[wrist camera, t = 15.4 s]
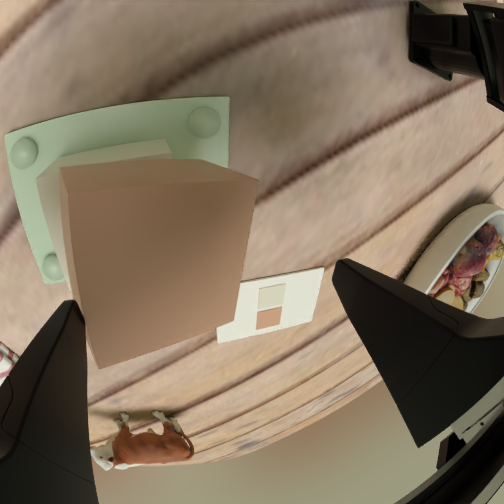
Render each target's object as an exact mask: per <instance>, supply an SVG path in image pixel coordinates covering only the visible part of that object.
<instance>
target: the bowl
mask: <svg viewBox="0 0 504 504" xmlns="http://www.w3.org/2000/svg"><path fill="white" fill-rule="evenodd" d="M503 258H504V209H502V208H501V207H499V206H497V205H494V204H479V205H475V206H473V207H470V208H468V209H467V210H465V211H463V212H462V213H460V214H459V215H458V216H457V217H455V218H454V219H453V220H452V221H451V222H450V223H449V224H447V225H446V226H445V227H444V228H443V229H442V231H441V232H440V233H439V234H438V235H437V236H436V237H435V238H434V240H433V241H432V242H431V243H430V244H429V246H428V247H427V248H426V250H425V251H424V252H423V253H422V255H421V256H420V258H419V259H418V260H417V262H416V263H415V265H414V266H413V268H412V269H411V271H410V272H409V274H408V276H407V277H406V279H405V281H404V282H403V283H404V284H406V285H408V286H410V287H412V288H415V289H417V290H419V291H421V292H423V293H425V294H427V295H430V296H432V297H434V298H436V299H438V300H440V301H442V302H444V303H447V304H449V305H451V306H454V307H456V308H459V309H461V310H463V311H466V312H468V313H471V314H472V312H473V311H474V310H475V308H476V307H477V306H478V304H479V303H480V301H481V300H482V299H483V297H484V295H485V294H486V292H487V291H488V289H489V287H490V285H491V284H492V282H493V280H494V278H495V276H496V274H497V272H498V270H499V268H500V265H501V263H502V261H503Z"/></svg>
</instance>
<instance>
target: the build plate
mask: <svg viewBox="0 0 504 504" xmlns="http://www.w3.org/2000/svg"><path fill="white" fill-rule="evenodd" d="M229 104H230V97H228V96H220V97H190V98H174V99H162V100H152V101H144V102H136V103H129V104H122V105H116V106H110V107H104V108H99V109H94V110H89V111H84V112H79V113H75V114H71V115H67V116H63V117H59V118H55V119H51V120H48V121H44V122H41V123H38V124H34V125H31V126H28V127H25V128H22V129H19V130H16V131H13V132H10V133H8V134H5V135H4V138H5V146H6V152H7V158H8V164H9V170H10V175H11V179H12V184H13V188H14V193H15V197H16V201H17V205H18V208H19V212H20V215H21V219H22V222H23V225H24V229H25V232H26V235H27V238H28V241H29V244H30V247H31V249H32V252H33V255H34V257H35V260H36V263H37V265H38V268H39V270H40V273H41V275H42V278H43V280H44V282H45V284H51V283H58V282H65V281H66V279H65V277H64V274H63V272H62V269H61V266H60V264H59V261H58V258H57V255H56V252H55V249H54V246H53V243H52V240H51V237H50V234H49V231H48V227H47V224H46V220H45V217H44V213H43V209H42V206H41V202H40V197H39V193H38V189H37V184H36V178H37V177H38V176H39V175H40V174H41V173H42V172H43V171H44V170H45V169H46V168H47V167H48V166H49V165H50V164H51V163H53V162H54V161H55V160H56V159H57V158H59V157H63V156H67V155H71V154H75V153H80V152H84V151H89V150H94V149H99V148H104V147H110V146H115V145H121V144H127V143H134V142H140V141H148V140H155V139H163V138H165V139H166V142H167V144H168V146H169V148H170V150H171V153H172V159H202V160H205V161H208V162H211V163H214V164H217V165H219V166H222V167H225V168H228V142H229Z"/></svg>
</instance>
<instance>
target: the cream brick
mask: <svg viewBox="0 0 504 504" xmlns="http://www.w3.org/2000/svg"><path fill="white" fill-rule="evenodd" d="M165 159H172V153H171V150H170V148H169V146H168V144H167V142H166V139H165V138H163V139H155V140H148V141H140V142H134V143H127V144H121V145H115V146H110V147H104V148H99V149H94V150H89V151H84V152H80V153H75V154H71V155H67V156H63V157H59V158H57V159H56V160H55V161H54V162H53V163H51V164H50V165H49V166H48V167H47V168H46V169H45V170H44V171H43V172H42V173H41V174H40V175H39V176H38V177H37V178H36V184H37V189H38V193H39V197H40V202H41V206H42V209H43V213H44V217H45V220H46V224H47V227H48V231H49V234H50V237H51V240H52V243H53V246H54V249H55V252H56V255H57V258H58V261H59V264H60V266H61V269H62V272H63V274H64V277H65V279H66V282H67V284H68V287H69V289H70V292H71V293H72V289H71V284H70V279H69V273H68V267H67V261H66V254H65V247H64V239H63V230H62V219H61V205H60V181H59V167H66V166H74V165H84V164H94V163H106V162H120V161H137V160H165Z"/></svg>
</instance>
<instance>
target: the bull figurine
mask: <svg viewBox="0 0 504 504" xmlns="http://www.w3.org/2000/svg"><path fill="white" fill-rule="evenodd" d="M152 414H153V415H154V416H155V417H157V418H158V419H159V420H160V421H161V422H162V424H163V427H164V433H163V435H158V434H156V433H155V432H154V431H153V430H152V429H151V428H149V429H148V432H143V433H139V434H132V433H130V432H129V426H128V420H129V415H127V414H126V413H124V412H121V413H120V415H121V417H122V418H123V422H122V421H120V420H119V419H114V420H113V421H114V422H115V423H116V424H117V426H118V428H119V431H118V432H117V433H115V434H114V435H113V436H112V437H111V438H110V439H109V440H108V441H107V443H106V445H100V446H98V447H95V446H90V451H91V455H92V456H93V457H94V459H95V461H96V462H97V464H99V465H100V466H101V467H102V468H103V469H104V470H109V469H110V468H111V467H114V468H117V469H126V468H128V467H133V466H138V465H142V464H151V463H165V462H177V461H187V460H189V459H191V458H192V456H193V455H194V447H193V445H192V443H191V441H190V440H189V439H188V437H187V436H186V435H185V434H184V433H183V431H182V429H181V427H180V425H179V423H178V421H177V420H175V419H174V418H173V417H168V418H167V419H168V420H169V421H170V422H171V423H170V422H169V421H168V420H167V419H166V418H165V416H164V414H163V412H162V413H159V411H157V410H155V411H152ZM182 436H183V437H184V438H185V439H186V440H187V442H188V443H189V445H190V448H189V446H188V445H187V443H186V442H185V440H184V439H183V438H182Z"/></svg>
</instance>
